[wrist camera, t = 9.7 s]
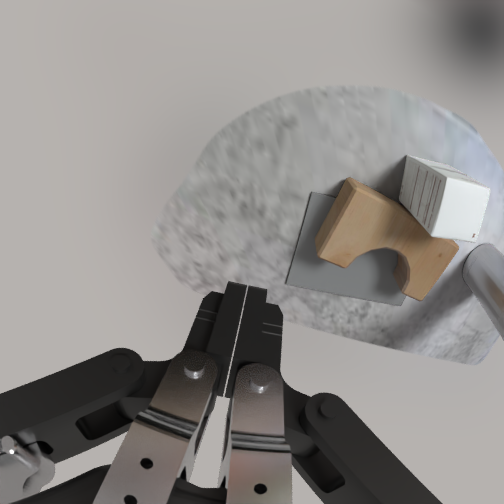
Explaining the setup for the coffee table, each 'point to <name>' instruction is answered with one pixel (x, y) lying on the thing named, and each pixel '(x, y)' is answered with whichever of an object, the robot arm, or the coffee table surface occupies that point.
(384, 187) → the coffee table surface
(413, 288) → the decorative block
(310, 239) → the mat
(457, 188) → the supplement box
